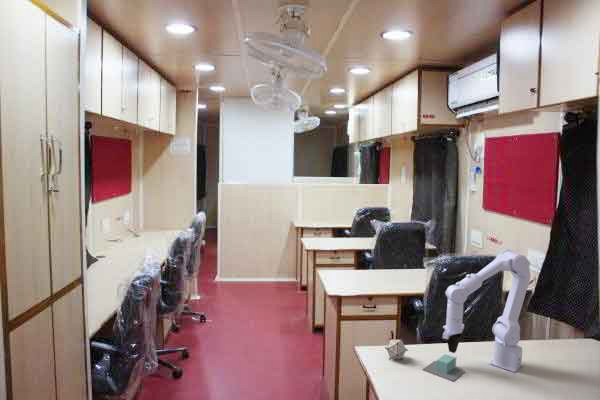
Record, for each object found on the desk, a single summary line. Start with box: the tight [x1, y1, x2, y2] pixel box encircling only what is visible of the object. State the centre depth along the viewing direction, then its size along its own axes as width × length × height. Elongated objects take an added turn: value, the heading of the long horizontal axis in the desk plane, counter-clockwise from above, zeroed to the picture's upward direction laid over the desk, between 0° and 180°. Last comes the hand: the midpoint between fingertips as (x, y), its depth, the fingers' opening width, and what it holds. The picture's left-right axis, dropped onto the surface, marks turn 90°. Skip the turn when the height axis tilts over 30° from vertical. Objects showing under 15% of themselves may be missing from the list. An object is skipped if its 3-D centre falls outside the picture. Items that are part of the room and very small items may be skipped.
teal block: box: [436, 352, 458, 374], centre depth 171 cm, size 4×4×8 cm
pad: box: [422, 360, 466, 382], centre depth 169 cm, size 12×10×1 cm
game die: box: [384, 337, 409, 362], centre depth 178 cm, size 9×8×10 cm
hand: (452, 351), depth 174 cm, fingers closed
